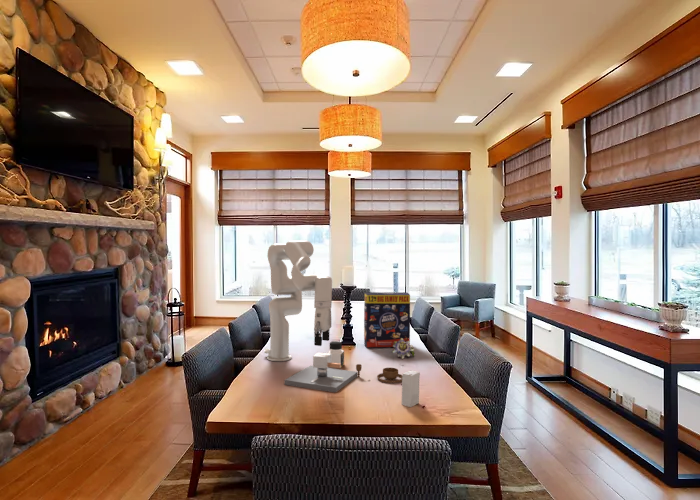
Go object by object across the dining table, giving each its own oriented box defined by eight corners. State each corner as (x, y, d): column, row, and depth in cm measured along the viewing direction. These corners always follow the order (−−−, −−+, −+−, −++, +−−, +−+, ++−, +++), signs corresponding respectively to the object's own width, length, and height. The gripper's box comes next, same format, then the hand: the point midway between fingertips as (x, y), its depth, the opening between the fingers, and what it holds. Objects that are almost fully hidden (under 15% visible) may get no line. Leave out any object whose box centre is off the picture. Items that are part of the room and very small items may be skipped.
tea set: (389, 388, 186) (389, 374, 186) (353, 378, 199) (353, 365, 199) (412, 379, 199) (412, 366, 199) (377, 370, 212) (377, 357, 212)
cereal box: (406, 343, 267) (406, 291, 267) (411, 347, 255) (411, 292, 256) (363, 344, 264) (363, 291, 264) (366, 348, 252) (366, 293, 253)
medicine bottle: (340, 368, 212) (341, 343, 212) (326, 367, 214) (326, 342, 214) (344, 364, 219) (344, 340, 219) (330, 363, 221) (330, 339, 221)
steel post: (315, 376, 193) (315, 367, 193) (319, 373, 197) (320, 364, 197) (324, 377, 191) (324, 368, 191) (328, 375, 195) (328, 366, 195)
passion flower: (402, 368, 232) (391, 351, 229) (397, 359, 243) (386, 343, 239) (420, 357, 232) (409, 339, 229) (414, 348, 243) (403, 331, 240)
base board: (284, 384, 187) (284, 379, 187) (310, 369, 210) (310, 365, 210) (335, 392, 178) (335, 387, 178) (357, 376, 200) (357, 371, 200)
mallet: (338, 369, 189) (338, 358, 189) (313, 367, 191) (313, 356, 191) (342, 365, 195) (342, 354, 195) (317, 363, 198) (317, 352, 198)
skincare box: (409, 400, 170) (410, 369, 170) (419, 403, 167) (420, 371, 167) (400, 405, 165) (401, 373, 165) (411, 408, 163) (411, 375, 162)
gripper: (324, 308, 184) (323, 348, 185) (337, 302, 201) (336, 339, 201) (307, 306, 186) (306, 346, 187) (321, 300, 203) (320, 337, 203)
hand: (321, 342), depth 194 cm, fingers open, 9 cm apart
